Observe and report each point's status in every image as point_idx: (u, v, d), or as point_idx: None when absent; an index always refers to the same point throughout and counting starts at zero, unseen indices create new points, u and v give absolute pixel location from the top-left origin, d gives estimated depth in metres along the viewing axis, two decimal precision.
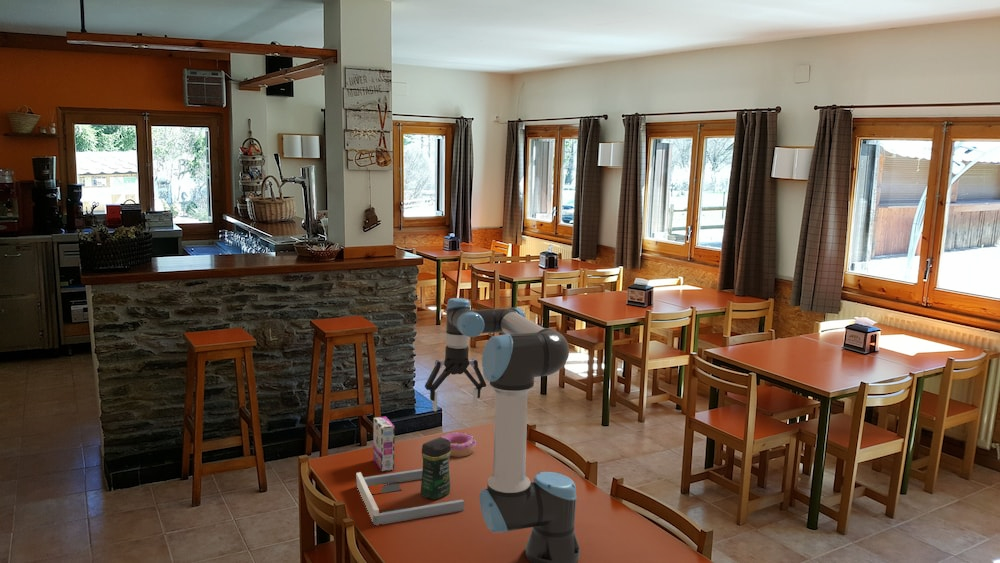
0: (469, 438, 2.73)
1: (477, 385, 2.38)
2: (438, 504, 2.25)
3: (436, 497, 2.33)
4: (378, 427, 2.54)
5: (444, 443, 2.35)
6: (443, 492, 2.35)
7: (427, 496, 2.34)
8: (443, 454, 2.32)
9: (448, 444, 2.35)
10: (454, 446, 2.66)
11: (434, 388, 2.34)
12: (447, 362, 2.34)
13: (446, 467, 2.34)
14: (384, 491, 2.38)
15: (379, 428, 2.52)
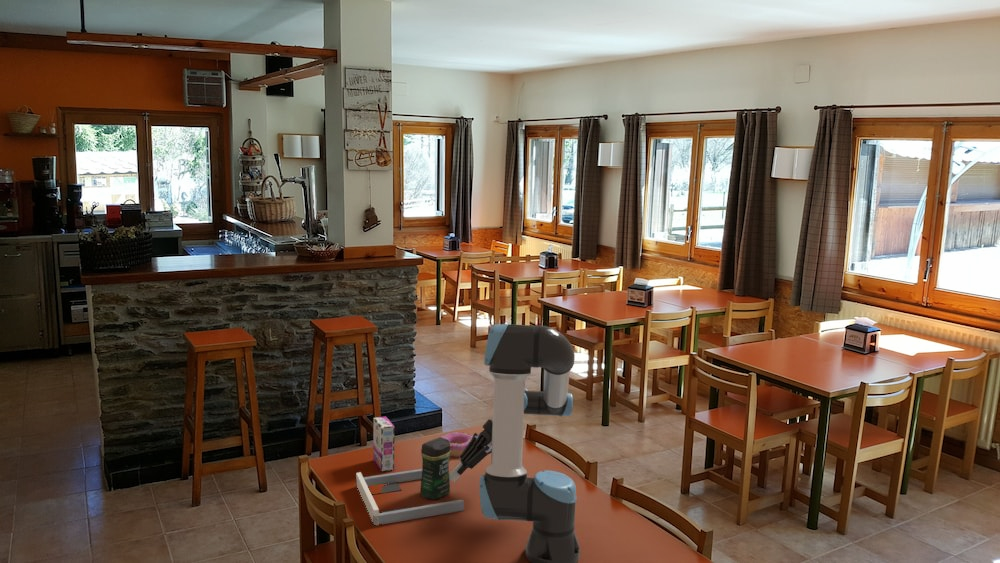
0: (469, 438, 2.73)
1: (465, 460, 2.40)
2: (438, 504, 2.25)
3: (436, 497, 2.33)
4: (378, 427, 2.54)
5: (444, 443, 2.35)
6: (442, 492, 2.35)
7: (427, 496, 2.34)
8: (443, 454, 2.32)
9: (448, 444, 2.35)
10: (454, 446, 2.66)
11: (462, 458, 2.42)
12: (481, 432, 2.46)
13: (446, 467, 2.34)
14: (384, 491, 2.38)
15: (379, 428, 2.52)
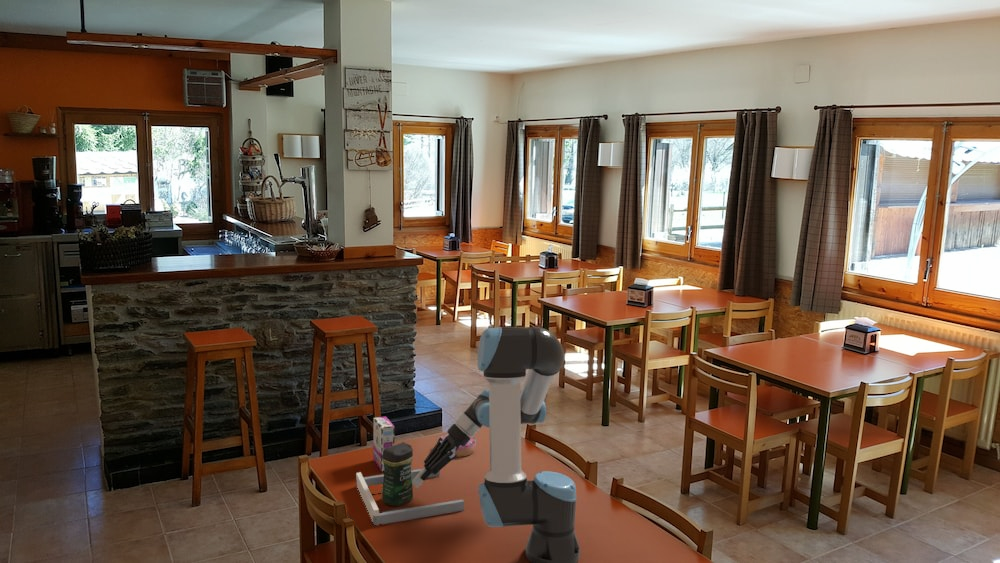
0: None
1: (429, 465, 2.35)
2: (438, 504, 2.25)
3: (397, 503, 2.28)
4: (378, 427, 2.54)
5: (405, 448, 2.30)
6: (404, 498, 2.30)
7: (388, 502, 2.29)
8: (404, 460, 2.27)
9: (409, 449, 2.30)
10: None
11: (426, 463, 2.37)
12: (446, 437, 2.40)
13: (407, 473, 2.29)
14: None
15: (379, 428, 2.52)
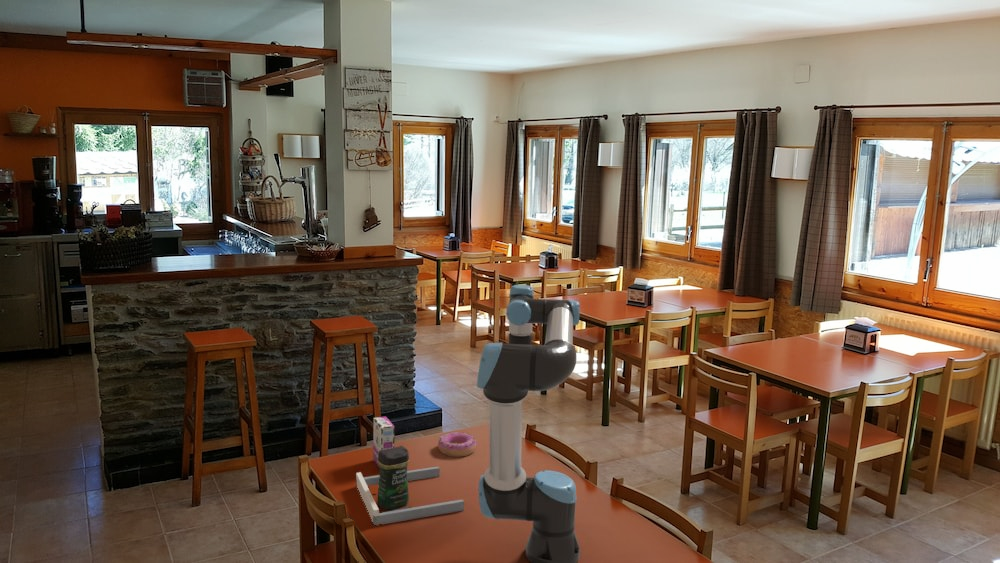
0: (469, 438, 2.73)
1: None
2: (438, 504, 2.25)
3: (388, 507, 2.26)
4: (378, 427, 2.54)
5: (400, 452, 2.27)
6: (397, 502, 2.27)
7: (380, 505, 2.27)
8: (396, 463, 2.25)
9: (404, 454, 2.27)
10: (454, 446, 2.66)
11: None
12: None
13: (401, 477, 2.26)
14: None
15: (379, 428, 2.52)
